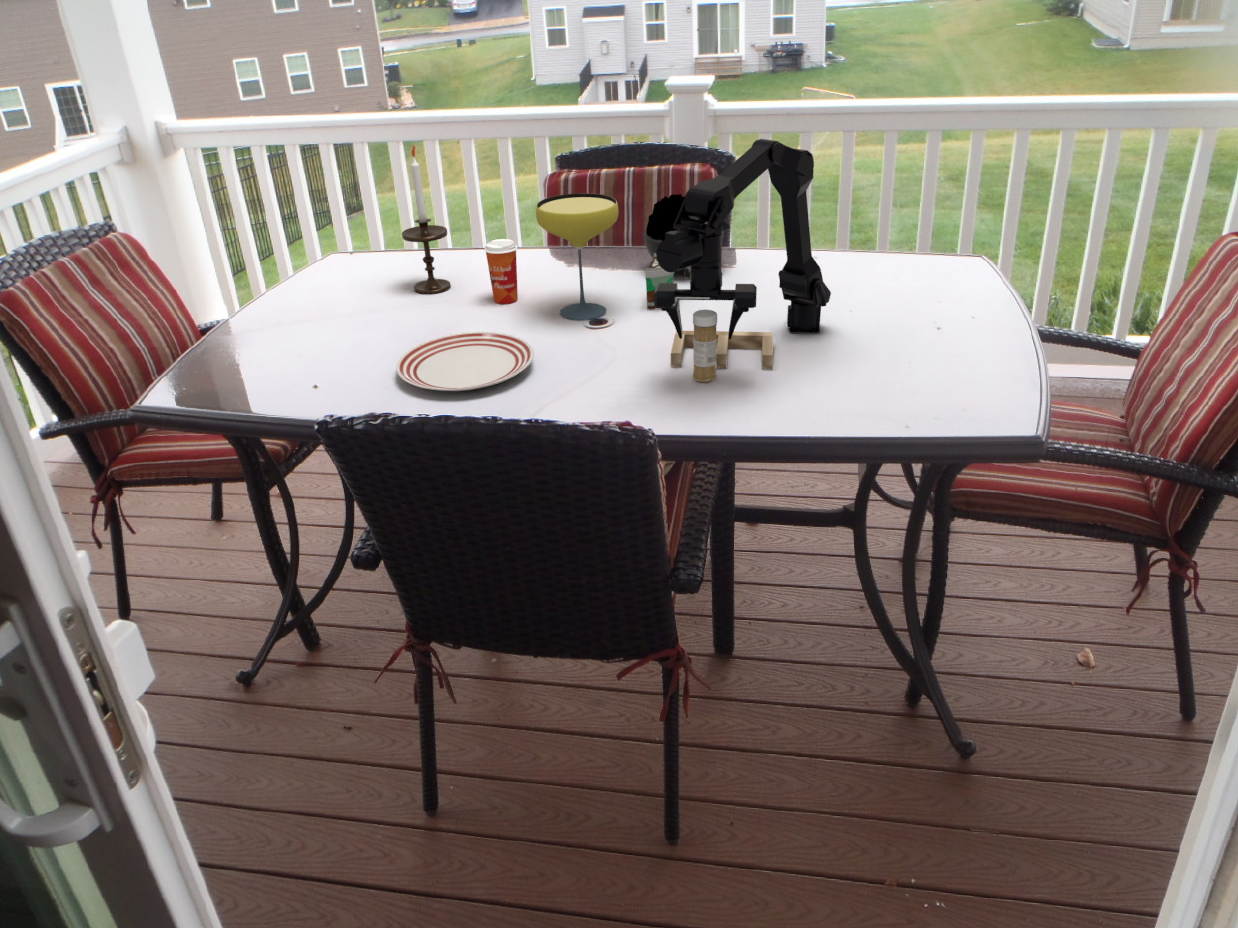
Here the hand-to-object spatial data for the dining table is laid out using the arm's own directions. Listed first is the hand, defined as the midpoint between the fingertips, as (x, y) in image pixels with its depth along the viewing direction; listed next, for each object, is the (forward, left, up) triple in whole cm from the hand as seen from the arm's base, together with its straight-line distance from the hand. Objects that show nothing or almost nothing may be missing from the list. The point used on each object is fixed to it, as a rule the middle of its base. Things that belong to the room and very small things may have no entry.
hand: (705, 338), depth 176 cm
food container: (+12, -42, -9) cm, 44 cm away
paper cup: (+50, -42, -9) cm, 66 cm away
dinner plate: (+48, -1, -9) cm, 49 cm away
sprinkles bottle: (0, 0, -9) cm, 9 cm away
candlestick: (+71, -50, -9) cm, 87 cm away
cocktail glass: (+30, -35, -9) cm, 47 cm away
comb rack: (-3, -11, -8) cm, 14 cm away
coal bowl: (+9, -65, -9) cm, 66 cm away
